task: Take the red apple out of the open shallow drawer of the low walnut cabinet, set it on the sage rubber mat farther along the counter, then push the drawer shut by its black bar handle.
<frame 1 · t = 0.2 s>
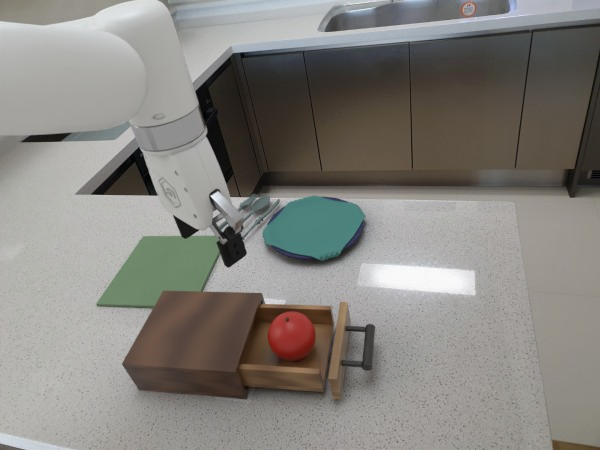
hand: (213, 246, 60), 22 cm above the table, tool pointing down, fingers open, 9 cm apart
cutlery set: (294, 227, 96), on the table, touching mat
cabinet: (207, 353, 74), on the table
mat: (166, 269, 92), on the table
apple: (291, 335, 67), point 5 cm above the table, touching drawer
drawer: (303, 345, 68), point 3 cm above the table, slide at 12.5 cm, touching apple
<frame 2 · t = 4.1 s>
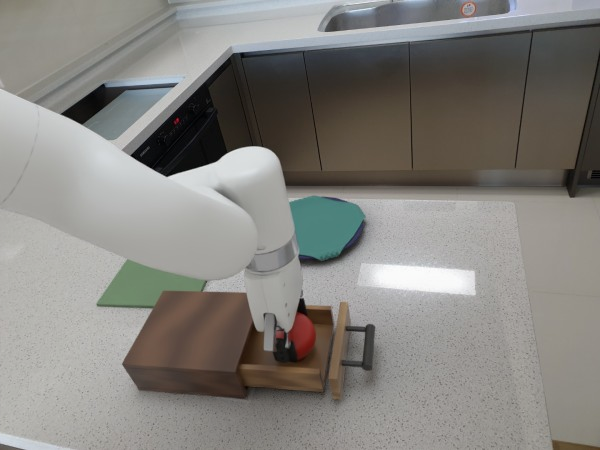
hand: (292, 337, 67), 5 cm above the table, tool pointing down, fingers closed on apple, 7 cm apart
apple: (291, 335, 67), point 6 cm above the table, touching drawer, gripper
everything else where it was.
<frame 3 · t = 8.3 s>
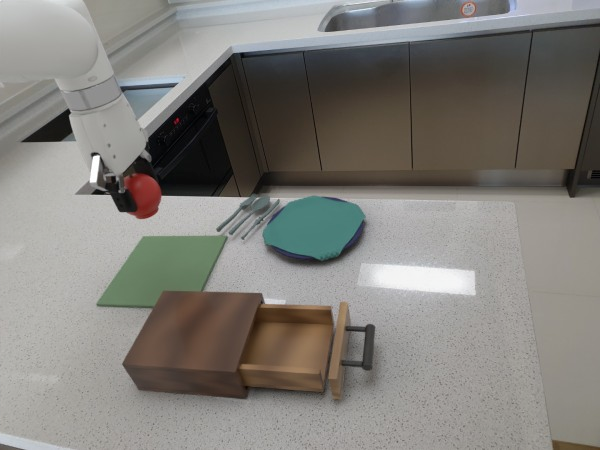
hand: (139, 196, 75), 21 cm above the table, tool pointing down, fingers closed on apple, 7 cm apart
apple: (139, 194, 75), point 21 cm above the table, touching gripper
drawer: (303, 345, 68), point 3 cm above the table, slide at 12.5 cm
everything else where it was.
when the fingers open (4 cm above the table, at t = 13.0 s): apple stays where it is, resting on mat.
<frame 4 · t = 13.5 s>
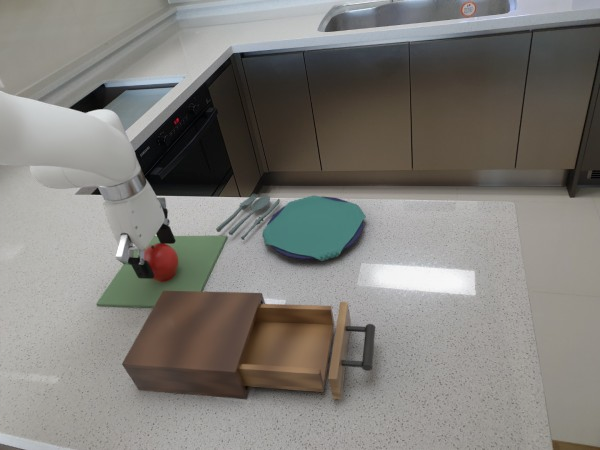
hand: (158, 259, 87), 5 cm above the table, tool pointing down, fingers open, 9 cm apart
apple: (159, 261, 88), point 4 cm above the table, touching mat
everything else where it was.
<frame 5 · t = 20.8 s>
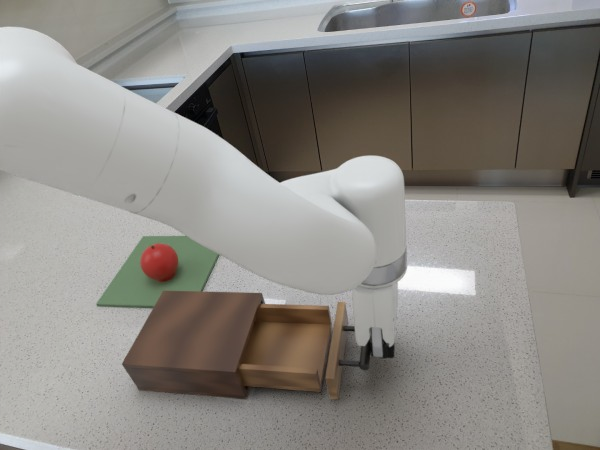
hand: (383, 352, 65), 3 cm above the table, tool pointing down, fingers closed
drawer: (300, 345, 68), point 3 cm above the table, slide at 12.1 cm, touching gripper
everything else where it was.
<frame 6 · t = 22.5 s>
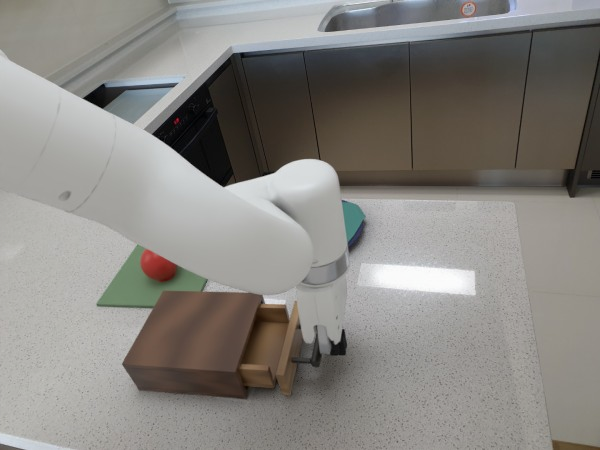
hand: (335, 350, 67), 3 cm above the table, tool pointing down, fingers closed
drawer: (257, 343, 69), point 3 cm above the table, slide at 5.3 cm, touching gripper
everything else where it was.
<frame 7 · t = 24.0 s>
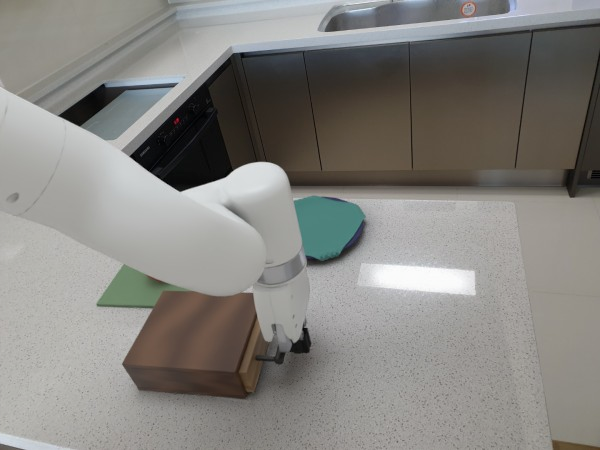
hand: (300, 348, 68), 3 cm above the table, tool pointing down, fingers closed
drawer: (224, 341, 71), point 3 cm above the table, slide at 0.0 cm, touching cabinet, gripper
everything else where it was.
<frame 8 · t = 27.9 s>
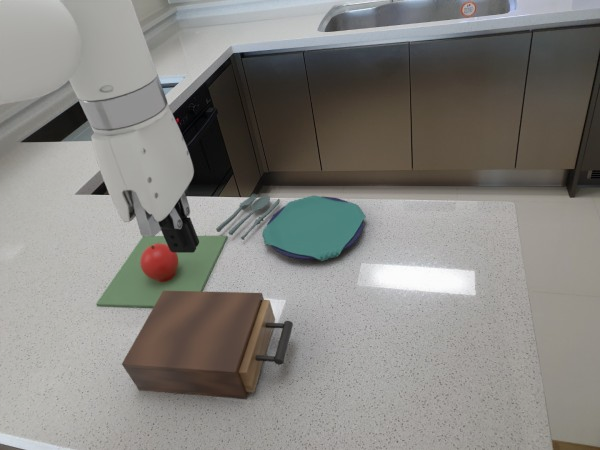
hand: (185, 247, 55), 25 cm above the table, tool pointing down, fingers closed
drawer: (224, 341, 71), point 3 cm above the table, slide at 0.0 cm, touching cabinet
everything else where it was.
at the end: apple inside the target area on the mat (2.2 cm from its centre), point 4.1 cm above the mat's base; the gripper is holding nothing; drawer slide at 0.0 cm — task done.
